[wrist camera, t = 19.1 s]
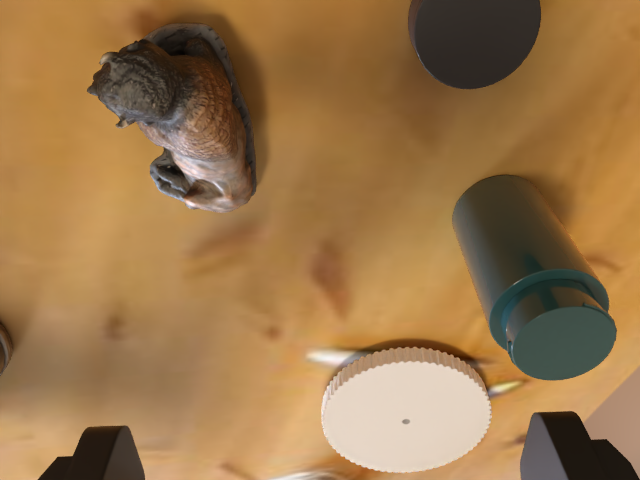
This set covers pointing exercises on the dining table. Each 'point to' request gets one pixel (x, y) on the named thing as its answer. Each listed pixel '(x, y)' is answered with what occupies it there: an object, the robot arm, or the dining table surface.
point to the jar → (532, 280)
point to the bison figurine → (185, 113)
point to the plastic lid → (405, 410)
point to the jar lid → (473, 38)
